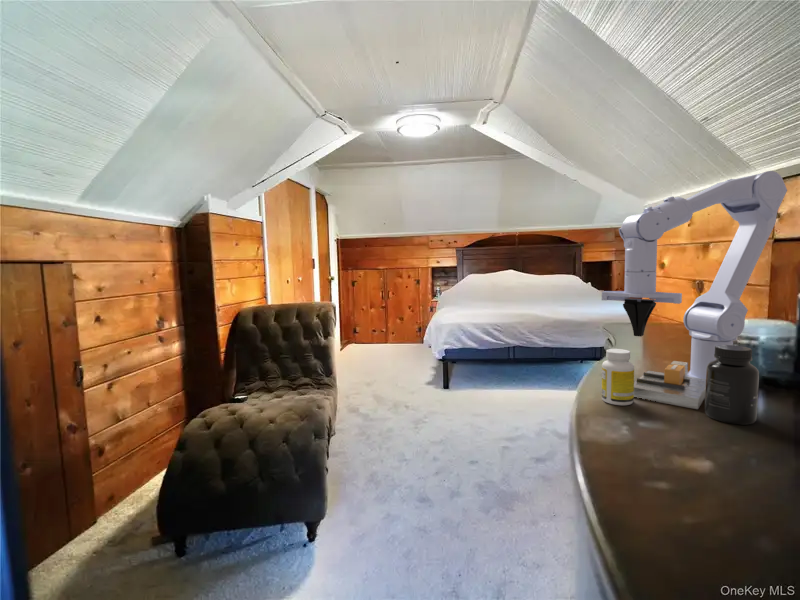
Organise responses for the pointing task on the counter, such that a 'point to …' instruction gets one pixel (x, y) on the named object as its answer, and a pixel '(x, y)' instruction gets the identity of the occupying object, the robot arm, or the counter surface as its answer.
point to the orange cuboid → (674, 374)
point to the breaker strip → (671, 388)
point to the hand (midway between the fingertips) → (638, 335)
